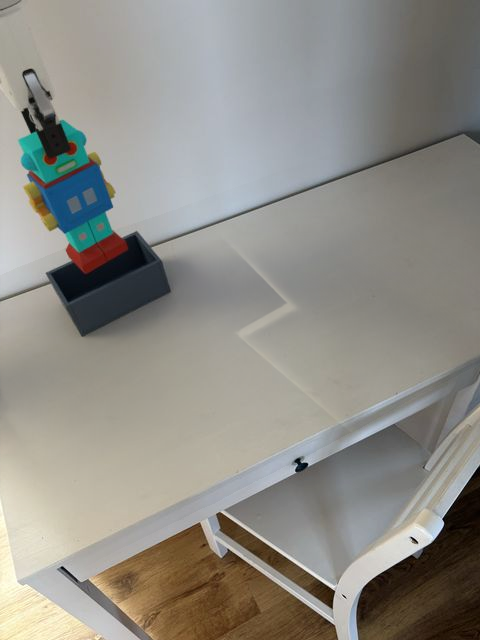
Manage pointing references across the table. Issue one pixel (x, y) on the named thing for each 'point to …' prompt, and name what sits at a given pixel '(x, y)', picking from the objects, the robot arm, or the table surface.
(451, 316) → the table surface
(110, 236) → the toy robot
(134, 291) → the tote
